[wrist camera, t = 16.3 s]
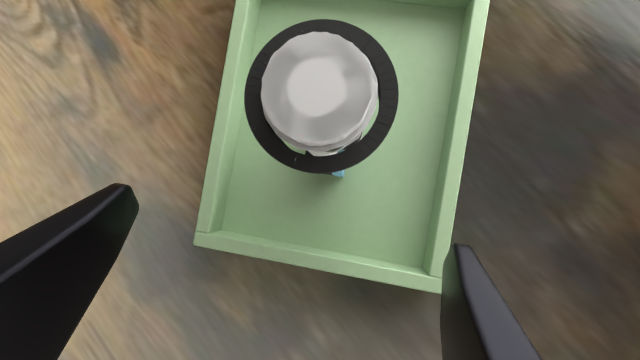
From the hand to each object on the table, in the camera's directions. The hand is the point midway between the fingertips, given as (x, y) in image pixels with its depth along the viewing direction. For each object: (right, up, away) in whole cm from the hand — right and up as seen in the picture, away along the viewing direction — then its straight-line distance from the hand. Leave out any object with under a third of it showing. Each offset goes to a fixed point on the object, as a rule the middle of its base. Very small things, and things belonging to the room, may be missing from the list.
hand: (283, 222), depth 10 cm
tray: (+2, +4, +12) cm, 13 cm away
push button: (+2, +4, +12) cm, 13 cm away
